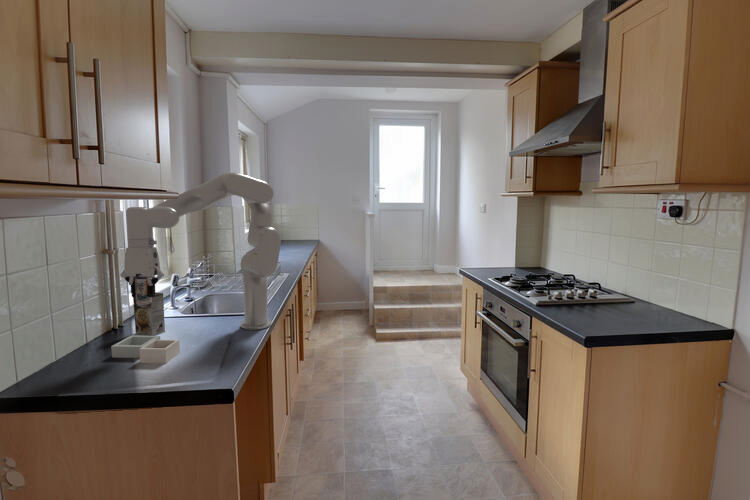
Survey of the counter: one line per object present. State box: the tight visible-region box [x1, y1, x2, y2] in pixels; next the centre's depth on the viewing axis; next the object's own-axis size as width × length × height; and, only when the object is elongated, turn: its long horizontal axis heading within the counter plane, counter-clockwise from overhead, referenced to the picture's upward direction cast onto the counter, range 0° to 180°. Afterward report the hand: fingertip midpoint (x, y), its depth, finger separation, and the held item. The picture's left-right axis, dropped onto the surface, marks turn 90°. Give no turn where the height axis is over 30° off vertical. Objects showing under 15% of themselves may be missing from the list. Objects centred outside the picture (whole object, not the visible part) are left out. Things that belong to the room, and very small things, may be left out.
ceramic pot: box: [139, 339, 181, 364], centre depth 129 cm, size 8×8×6 cm
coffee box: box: [132, 291, 166, 336], centre depth 154 cm, size 9×6×16 cm
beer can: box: [135, 273, 152, 305], centre depth 133 cm, size 5×5×12 cm
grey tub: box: [110, 334, 161, 359], centre depth 134 cm, size 10×10×5 cm
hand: (143, 295), depth 134 cm, fingers closed on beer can, 4 cm apart
